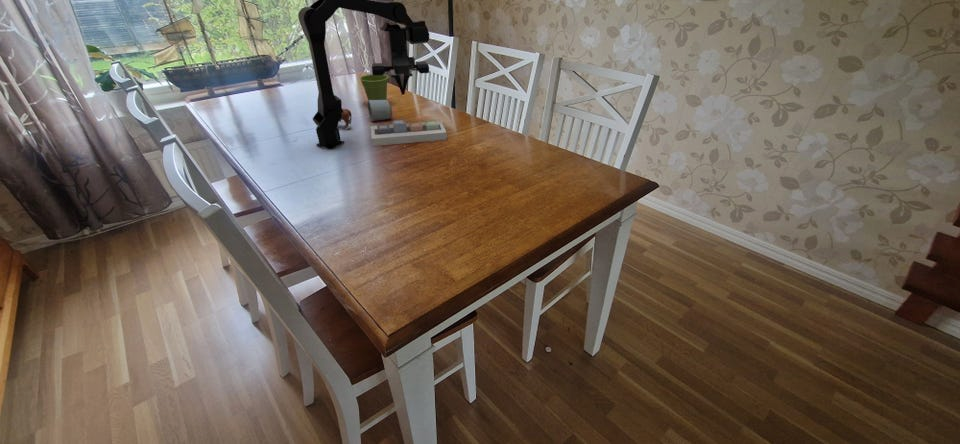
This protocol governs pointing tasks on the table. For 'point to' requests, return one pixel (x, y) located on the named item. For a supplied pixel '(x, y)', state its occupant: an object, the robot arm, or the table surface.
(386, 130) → the key charcoal
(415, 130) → the key terracotta
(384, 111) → the ceramic mug
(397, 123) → the key slate
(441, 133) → the keypad
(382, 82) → the plant pot
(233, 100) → the table surface
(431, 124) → the key sage
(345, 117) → the bull figurine
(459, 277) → the table surface
